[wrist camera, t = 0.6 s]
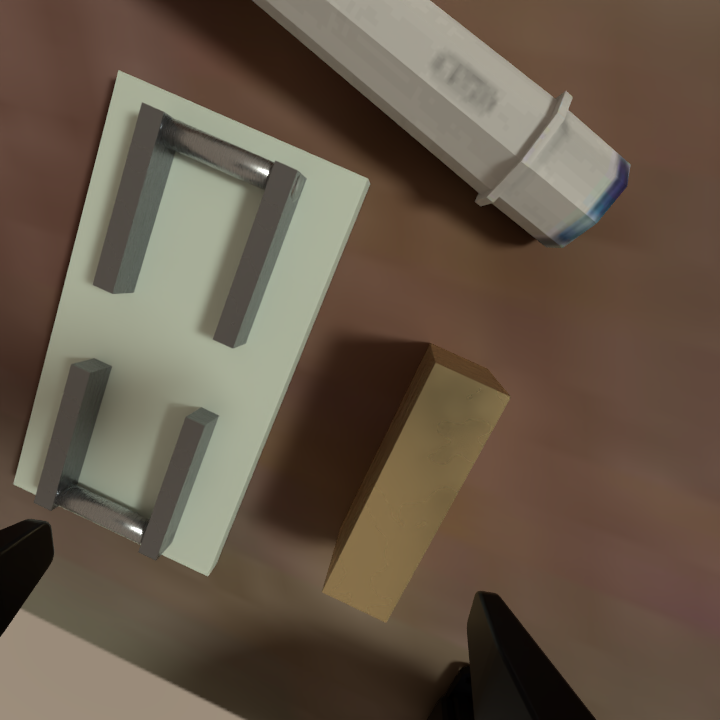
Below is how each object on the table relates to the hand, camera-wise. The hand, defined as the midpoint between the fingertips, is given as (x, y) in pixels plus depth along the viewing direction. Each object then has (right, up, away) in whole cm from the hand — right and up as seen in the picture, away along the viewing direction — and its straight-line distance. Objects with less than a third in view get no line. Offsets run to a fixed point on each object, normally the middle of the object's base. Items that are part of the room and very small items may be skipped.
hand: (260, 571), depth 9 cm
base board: (-7, +5, +13) cm, 16 cm away
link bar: (+5, 0, +13) cm, 14 cm away
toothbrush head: (+1, +18, +10) cm, 21 cm away
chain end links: (-7, +5, +12) cm, 15 cm away
